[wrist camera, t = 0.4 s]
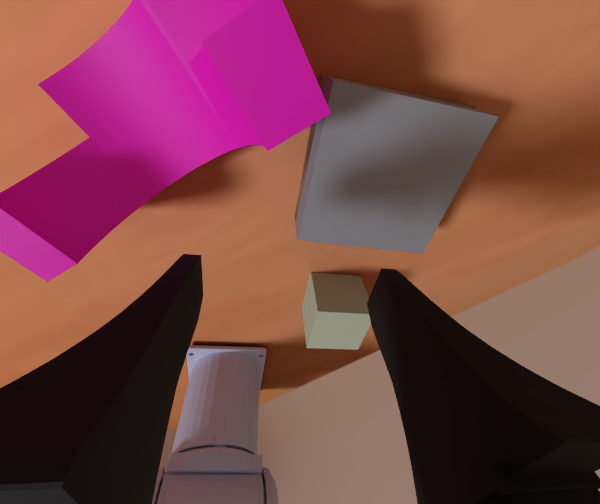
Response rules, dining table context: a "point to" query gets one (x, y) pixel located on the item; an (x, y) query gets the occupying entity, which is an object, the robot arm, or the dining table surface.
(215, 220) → the dining table surface
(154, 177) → the toy block
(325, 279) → the sage cube
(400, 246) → the slate top slab
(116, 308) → the dining table surface
